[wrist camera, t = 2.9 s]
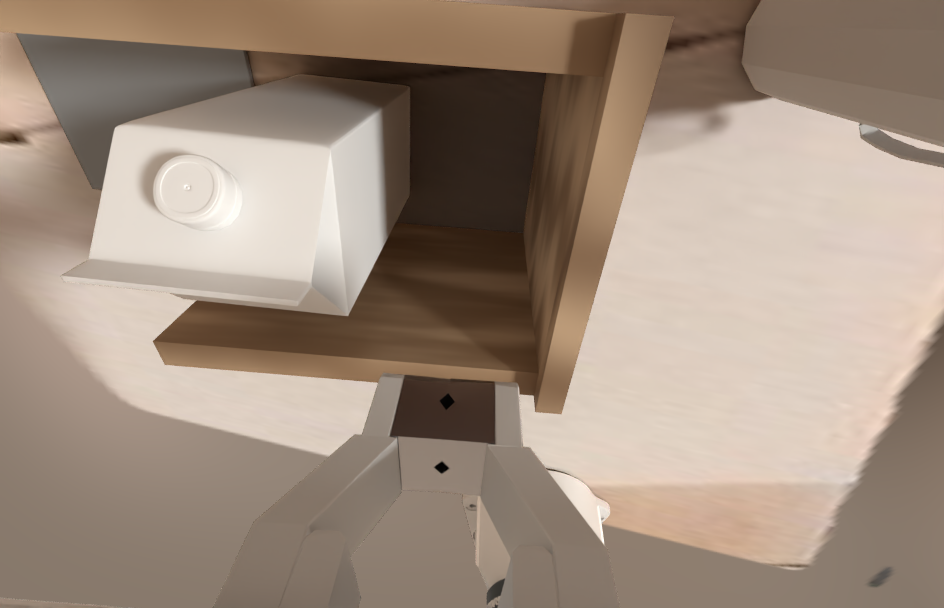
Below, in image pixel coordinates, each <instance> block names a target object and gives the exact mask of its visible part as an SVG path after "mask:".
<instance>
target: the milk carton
mask: <svg viewBox="0 0 944 608" xmlns="http://www.w3.org/2000/svg"><path fill="white" fill-rule="evenodd" d="M409 195H410V87H409V86H405V85H398V84H389V83H380V82H370V81H361V80H352V79H343V78H334V77H325V76H316V75H306V74H299V75H295V76H291V77H287V78H284V79H280V80H276V81H273V82H269V83H266V84H262V85H258V86H255V87H251V88H247V89H244V90H240V91H237V92H233V93H229V94H226V95H222V96H218V97H215V98H211V99H207V100H204V101H200V102H197V103H193V104H189V105H186V106H182V107H178V108H175V109H171V110H168V111H164V112H160V113H157V114H153V115H149V116H146V117H142V118H139V119H135V120H132V121H129V122H126V123H124V124H121V125H118V126H117V127H115V130H114V134H113V138H112V143H111V148H110V153H109V158H108V163H107V168H106V173H105V178H104V183H103V188H102V193H101V198H100V203H99V208H98V213H97V218H96V223H95V228H94V233H93V238H92V244H91V249H90V254H89V258H88V260H87V261H85V262H83V263H81V264H80V265H78V266H76V267H75V268H73V269H71V270H69V271H68V272H66V273H64V274H63V275H61V276H60V277H61V278H62V280H63V281H64V282H71V283H80V284H89V285H99V286H108V287H118V288H127V289H137V290H146V291H156V292H165V293H170V294H173V295H175V296H178V297H181V298H183V299H190V300H198V301H208V302H217V303H227V304H236V305H246V306H255V307H264V308H274V309H283V310H293V311H302V312H312V313H321V314H331V315H341V316H349V313H350V311H351V309H352V307H353V305H354V303H355V301H356V299H357V297H358V295H359V293H360V291H361V289H362V287H363V285H364V284H365V282H366V280H367V278H368V276H369V274H370V272H371V270H372V268H373V266H374V264H375V262H376V260H377V258H378V256H379V254H380V252H381V250H382V248H383V246H384V244H385V242H386V240H387V238H388V236H389V235H390V233H391V231H392V229H393V227H394V225H395V223H396V221H397V219H398V217H399V215H400V213H401V211H402V209H403V207H404V205H405V203H406V201H407V199H408V197H409Z"/></svg>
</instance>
